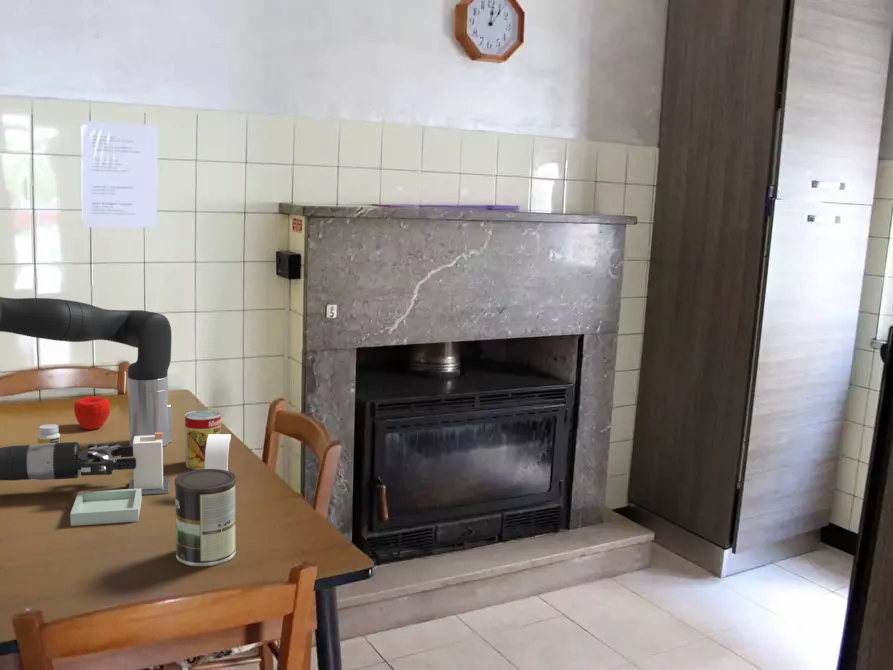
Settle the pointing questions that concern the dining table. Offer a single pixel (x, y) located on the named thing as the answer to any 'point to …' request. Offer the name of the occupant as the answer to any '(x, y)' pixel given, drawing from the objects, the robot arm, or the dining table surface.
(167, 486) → the post
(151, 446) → the open-top white box
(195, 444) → the canned food
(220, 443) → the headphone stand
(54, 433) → the supplement bottle
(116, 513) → the tray
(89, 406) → the apple
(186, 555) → the coffee can
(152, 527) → the dining table surface
